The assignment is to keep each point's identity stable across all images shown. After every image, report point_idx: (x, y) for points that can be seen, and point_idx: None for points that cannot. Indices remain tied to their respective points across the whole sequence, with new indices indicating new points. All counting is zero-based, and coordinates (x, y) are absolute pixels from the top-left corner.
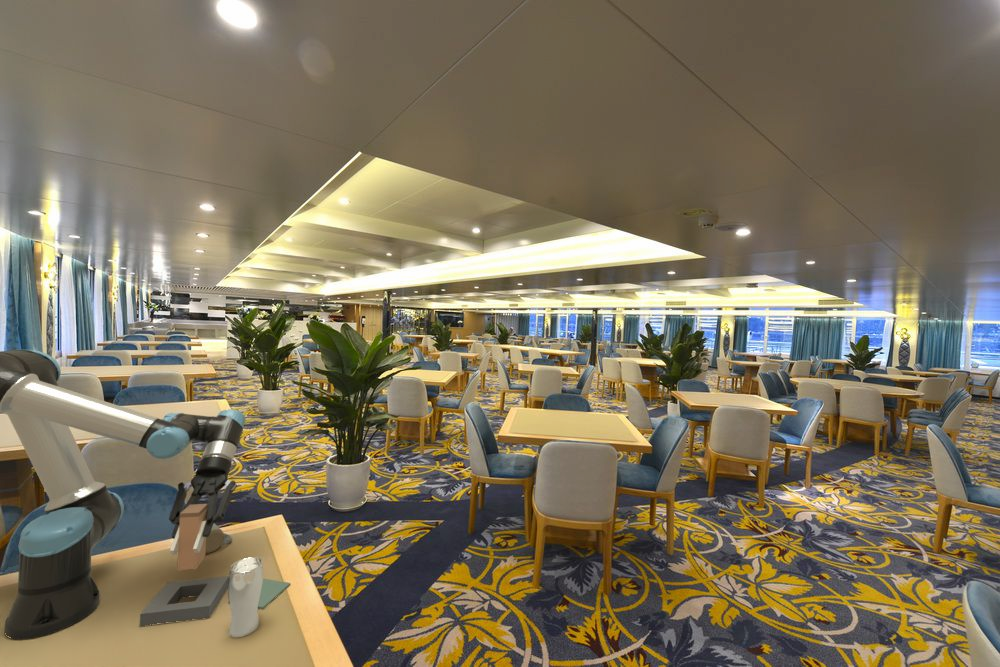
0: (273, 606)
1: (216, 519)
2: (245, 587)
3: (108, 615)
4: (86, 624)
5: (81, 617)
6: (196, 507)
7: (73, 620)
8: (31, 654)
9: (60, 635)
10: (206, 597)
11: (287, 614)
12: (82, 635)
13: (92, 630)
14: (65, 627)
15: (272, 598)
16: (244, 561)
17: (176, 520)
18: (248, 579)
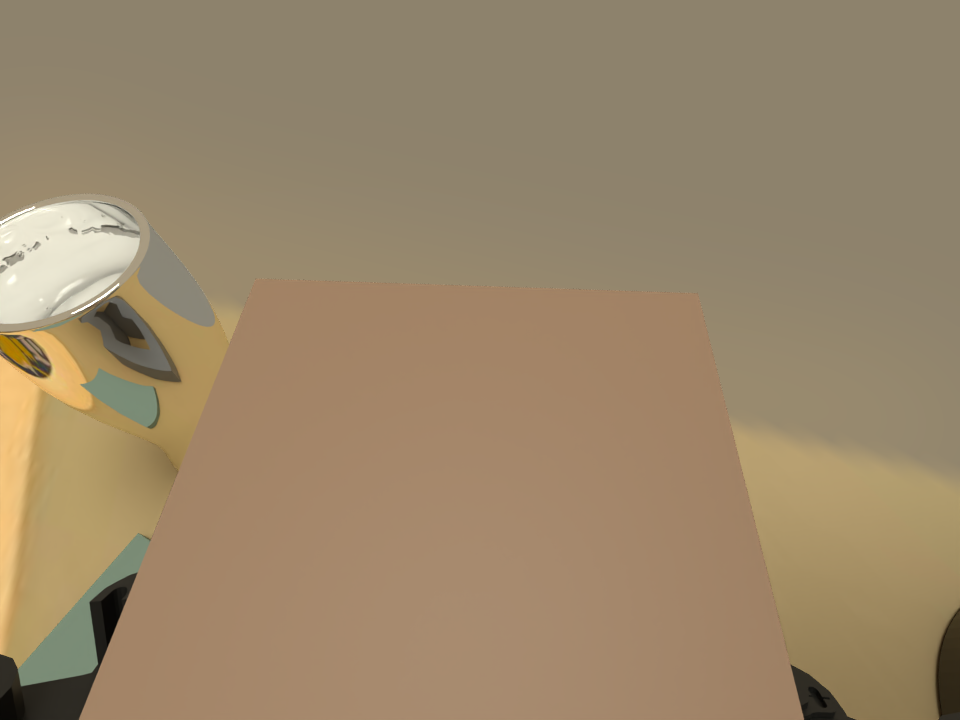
0: (99, 549)
1: (50, 699)
2: (121, 255)
3: (837, 692)
4: (880, 636)
5: (948, 677)
6: (396, 689)
7: (956, 643)
8: (914, 484)
9: (920, 577)
10: None
11: (59, 476)
12: (824, 553)
13: (811, 578)
14: (951, 622)
15: (85, 596)
16: (56, 334)
17: (831, 701)
18: (84, 229)
